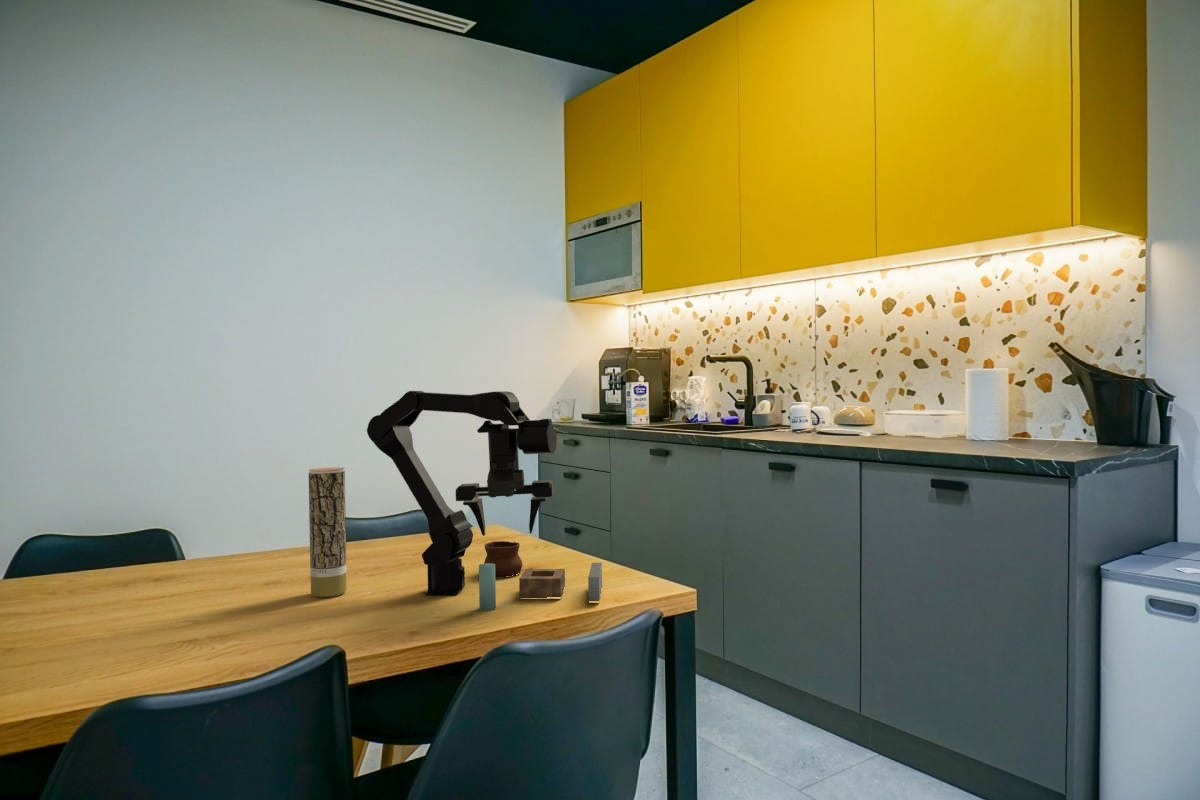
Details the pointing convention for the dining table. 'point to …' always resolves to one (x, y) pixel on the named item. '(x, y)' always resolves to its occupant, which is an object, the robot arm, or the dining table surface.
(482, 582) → the dowel
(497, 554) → the ceramic pot
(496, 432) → the robot arm
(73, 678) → the dining table surface
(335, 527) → the paper tube
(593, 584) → the bar
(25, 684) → the dining table surface
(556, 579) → the block
